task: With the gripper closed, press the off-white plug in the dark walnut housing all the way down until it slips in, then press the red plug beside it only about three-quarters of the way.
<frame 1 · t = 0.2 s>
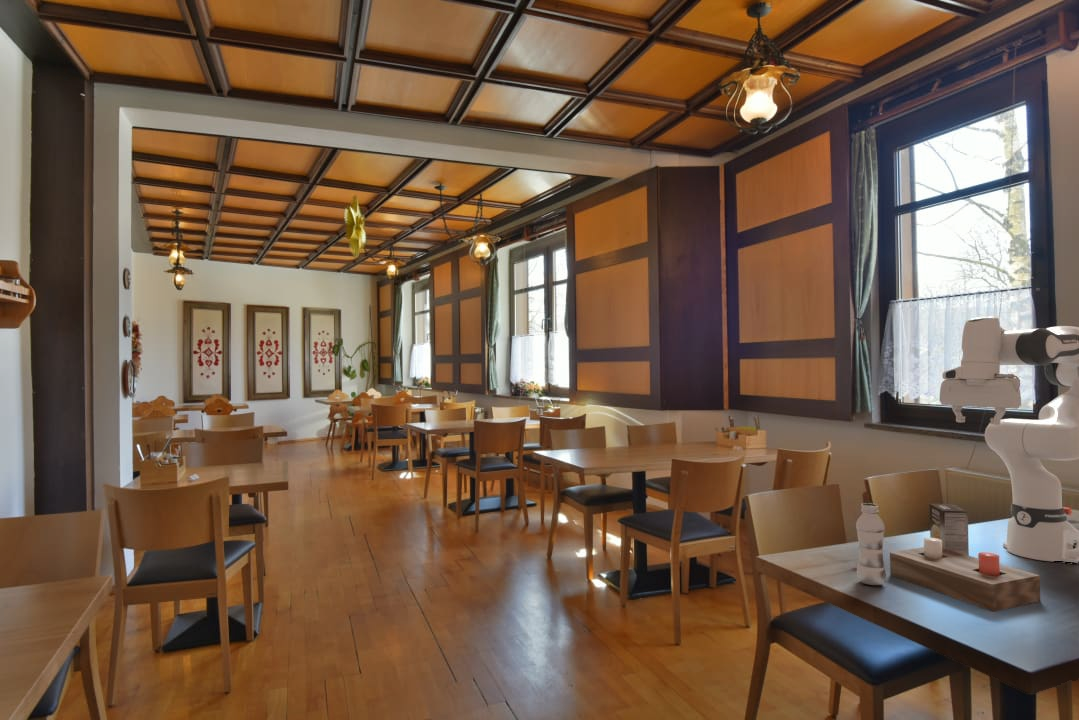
hand: (977, 423, 167), 39 cm above the table, tool pointing down, fingers open, 8 cm apart
plastic bottle: (871, 584, 153), on the table
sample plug: (933, 552, 157), point 7 cm above the table, slide at 0.0 cm
coffee box: (949, 565, 167), on the table
red plug: (989, 568, 143), point 7 cm above the table, slide at 0.0 cm
plug housing: (960, 587, 150), on the table
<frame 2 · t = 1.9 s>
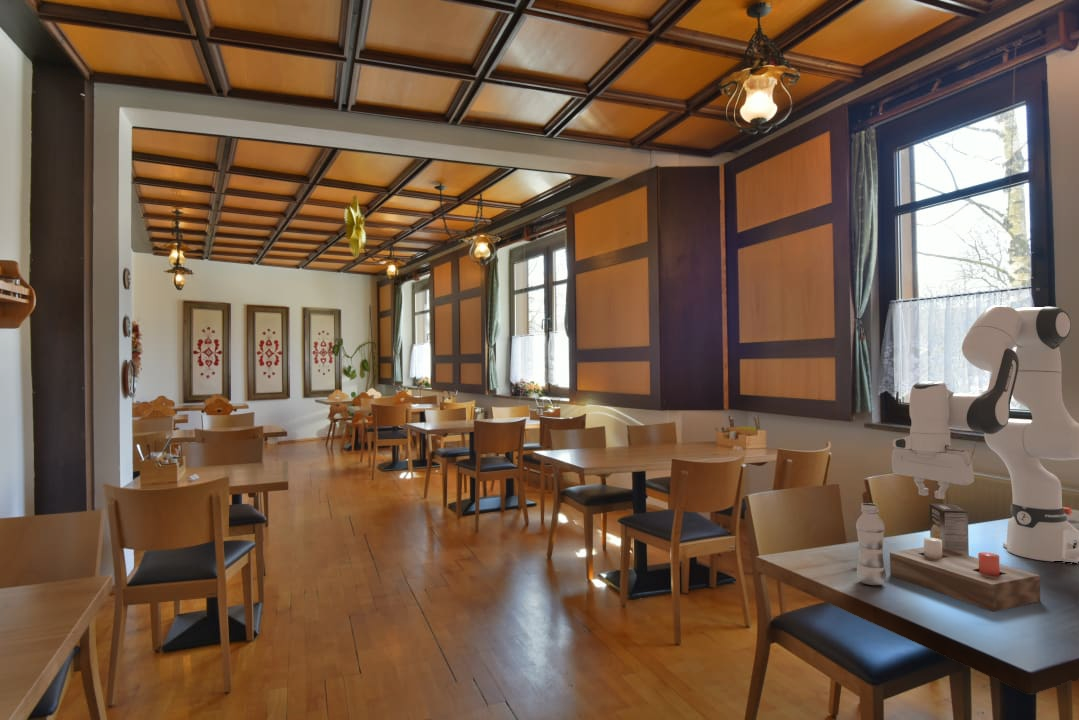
hand: (931, 496, 157), 21 cm above the table, tool pointing down, fingers open, 3 cm apart
nothing on the table moved.
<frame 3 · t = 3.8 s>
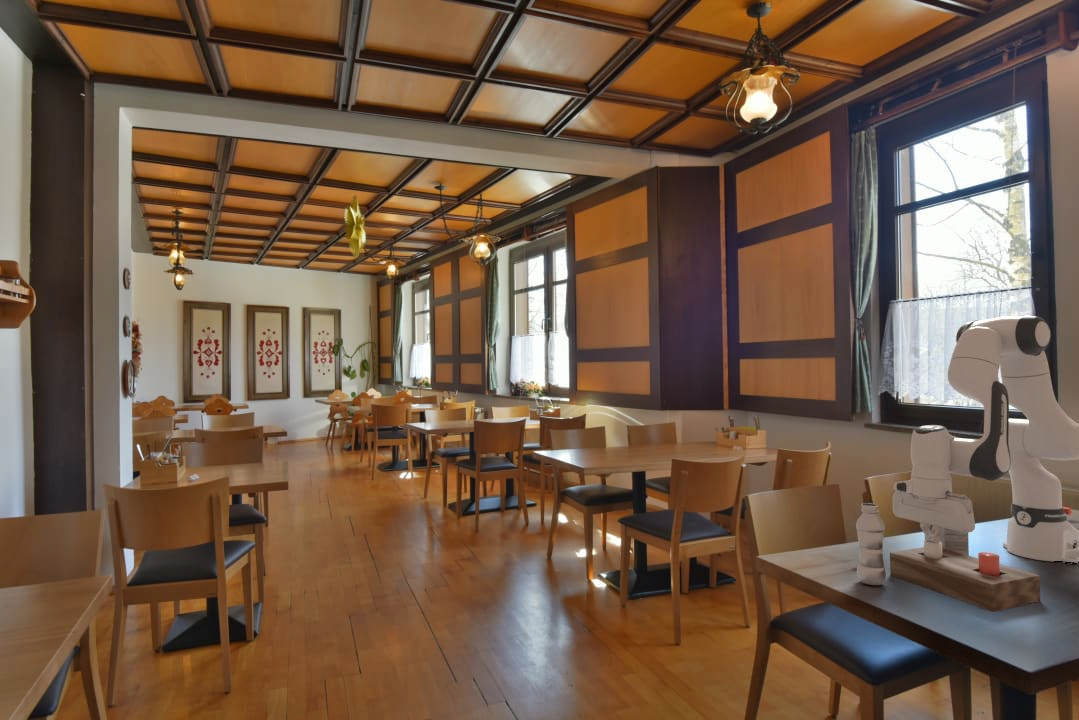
hand: (932, 541, 156), 9 cm above the table, tool pointing down, fingers closed, pressing on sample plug
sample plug: (933, 554, 156), point 6 cm above the table, slide at 0.6 cm, touching gripper
everything else where it was.
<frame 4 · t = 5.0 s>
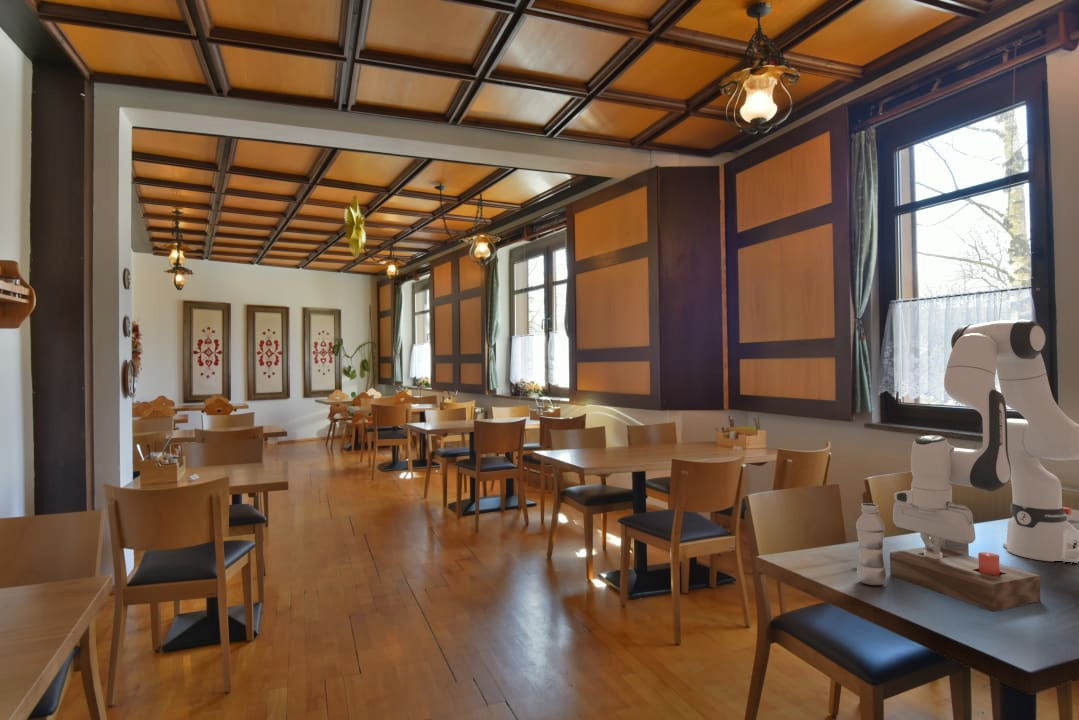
hand: (932, 552, 156), 7 cm above the table, tool pointing down, fingers closed
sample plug: (933, 565, 156), point 3 cm above the table, slide at 3.3 cm
everything else where it was.
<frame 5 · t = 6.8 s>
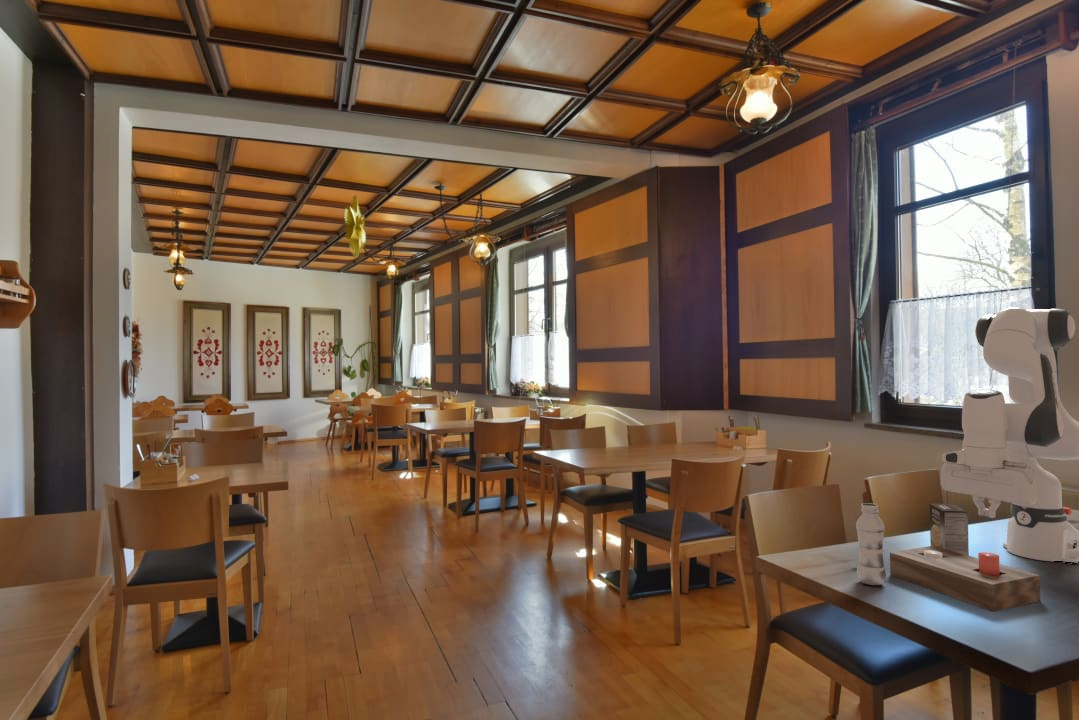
hand: (986, 516, 144), 19 cm above the table, tool pointing down, fingers closed
nothing on the table moved.
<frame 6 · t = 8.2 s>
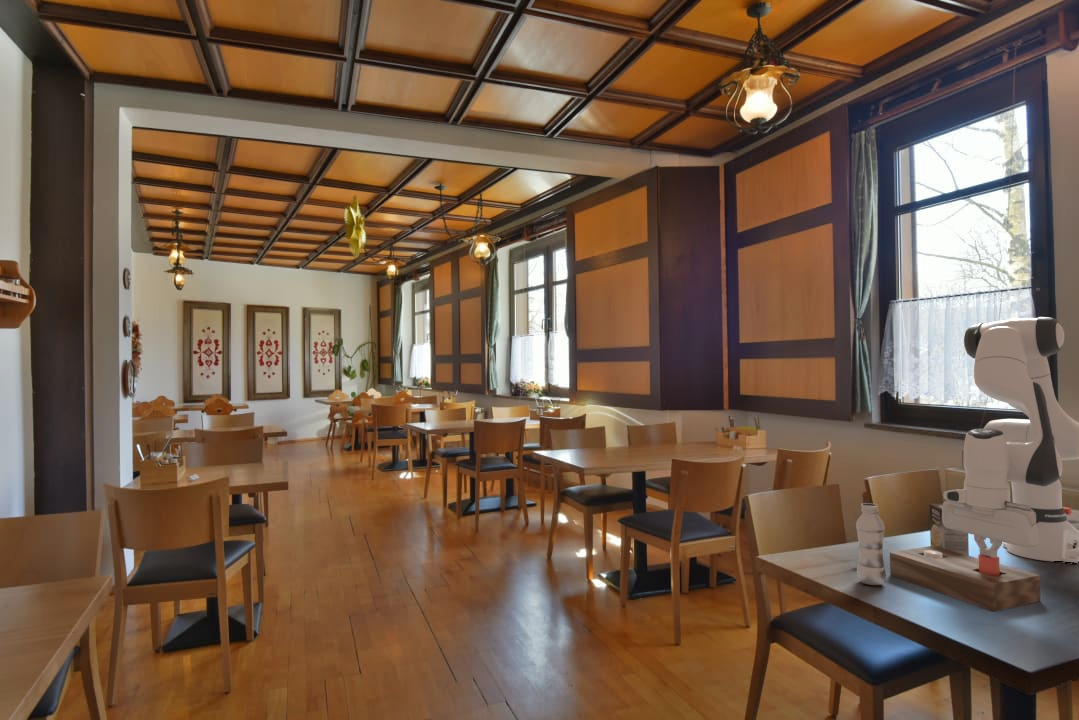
hand: (988, 556, 143), 10 cm above the table, tool pointing down, fingers closed, pressing on red plug
red plug: (989, 570, 143), point 6 cm above the table, slide at 0.4 cm, touching gripper
everything else where it was.
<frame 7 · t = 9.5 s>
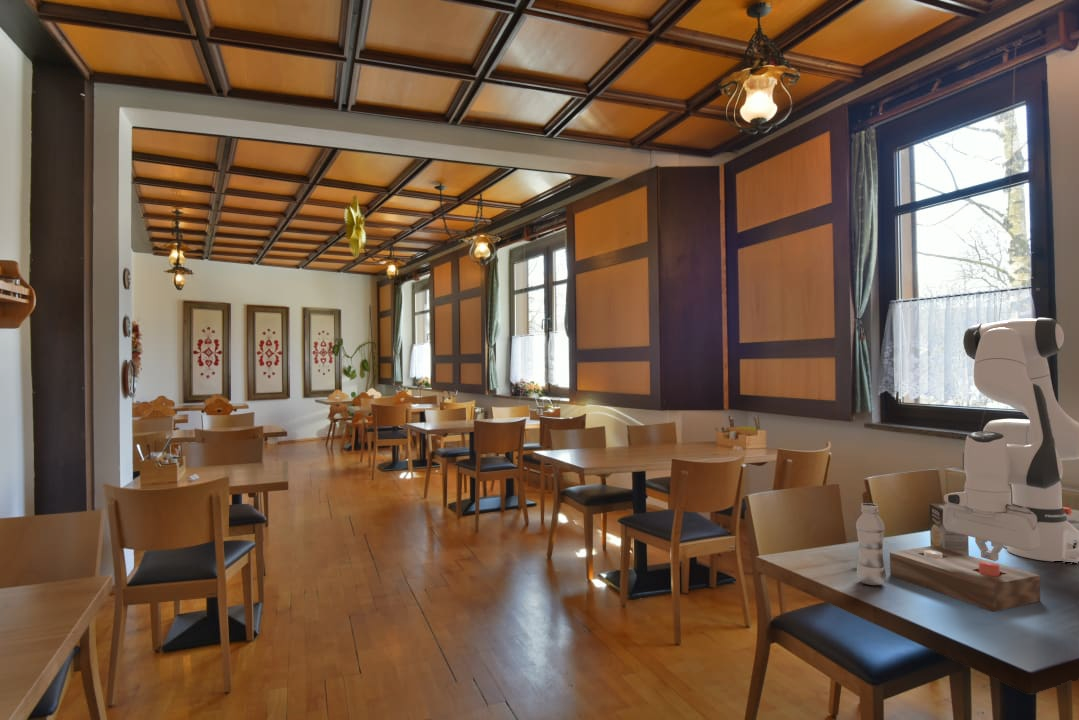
hand: (989, 559, 144), 9 cm above the table, tool pointing down, fingers closed
red plug: (989, 578, 143), point 4 cm above the table, slide at 2.3 cm
everything else where it was.
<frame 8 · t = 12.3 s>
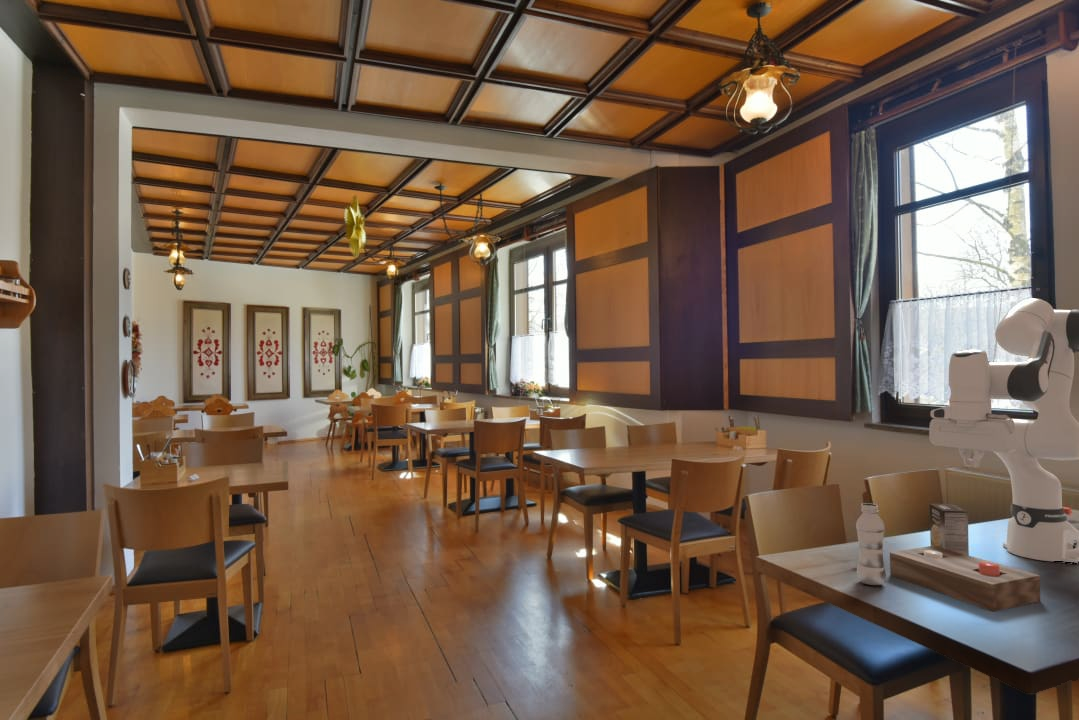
hand: (971, 466, 155), 29 cm above the table, tool pointing down, fingers closed
nothing on the table moved.
at the end: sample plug slide at 3.3 cm; red plug slide at 2.3 cm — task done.
